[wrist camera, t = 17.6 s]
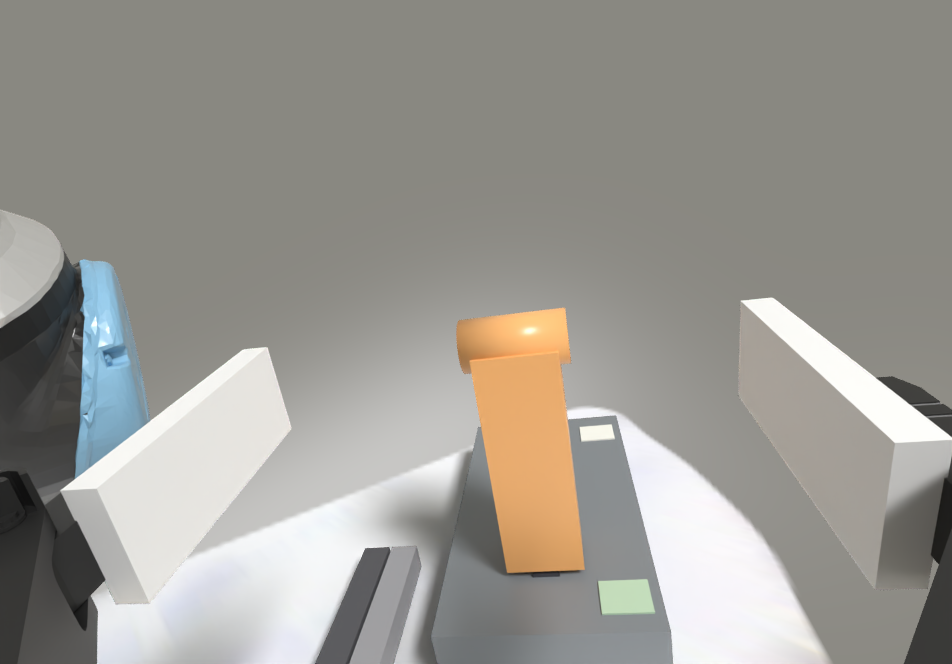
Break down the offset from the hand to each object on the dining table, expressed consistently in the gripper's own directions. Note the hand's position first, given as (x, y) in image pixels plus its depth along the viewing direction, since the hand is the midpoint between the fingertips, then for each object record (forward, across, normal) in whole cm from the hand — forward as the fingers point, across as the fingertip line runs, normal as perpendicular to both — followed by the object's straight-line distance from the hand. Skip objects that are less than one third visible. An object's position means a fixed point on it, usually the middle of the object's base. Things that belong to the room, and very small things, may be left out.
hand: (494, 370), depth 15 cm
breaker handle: (+10, 0, -15) cm, 18 cm away
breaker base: (+15, 0, -19) cm, 24 cm away
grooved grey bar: (+6, -10, -19) cm, 22 cm away
